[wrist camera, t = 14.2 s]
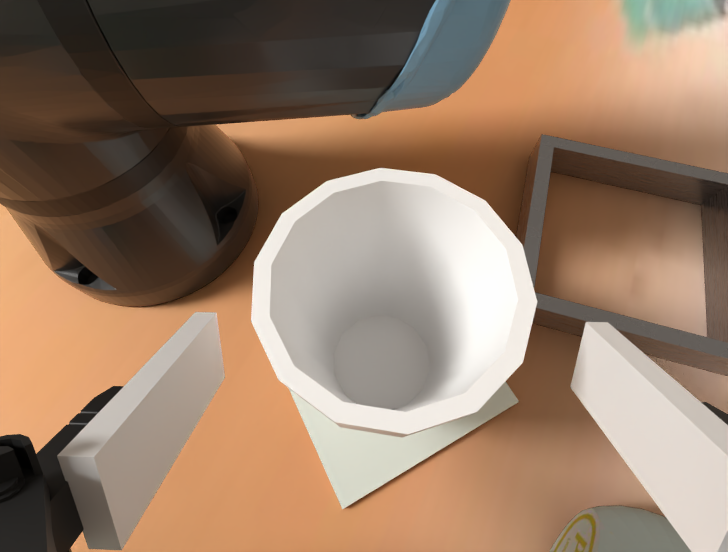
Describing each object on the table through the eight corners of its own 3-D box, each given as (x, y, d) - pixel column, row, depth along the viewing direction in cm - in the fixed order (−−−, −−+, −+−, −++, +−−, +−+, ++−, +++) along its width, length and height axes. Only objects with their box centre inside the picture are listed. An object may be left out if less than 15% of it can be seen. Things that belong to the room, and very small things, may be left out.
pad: (261, 326, 27) (260, 324, 26) (415, 250, 29) (416, 247, 28) (343, 508, 22) (342, 509, 22) (516, 402, 24) (519, 401, 24)
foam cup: (427, 471, 23) (492, 489, 11) (281, 407, 24) (196, 362, 12) (472, 322, 26) (558, 212, 14) (343, 274, 28) (323, 140, 16)
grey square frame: (502, 315, 27) (515, 302, 24) (529, 156, 32) (541, 134, 30) (726, 375, 25) (762, 368, 23) (714, 197, 30) (742, 176, 28)
